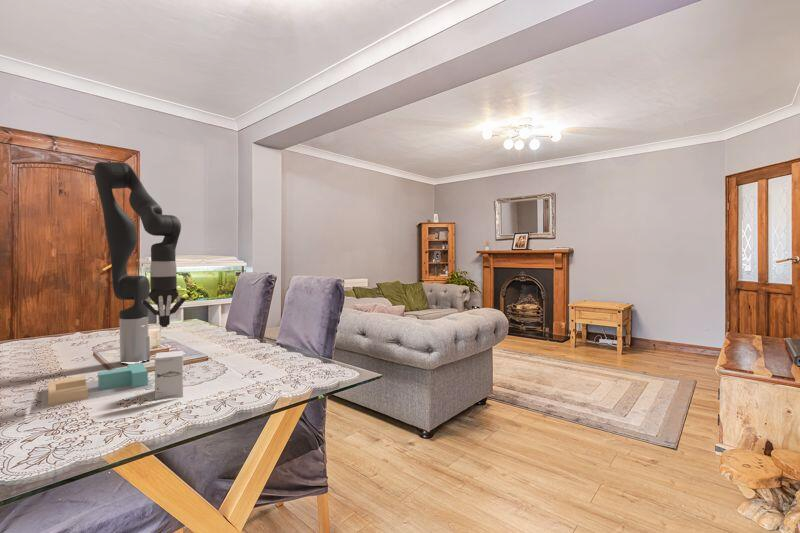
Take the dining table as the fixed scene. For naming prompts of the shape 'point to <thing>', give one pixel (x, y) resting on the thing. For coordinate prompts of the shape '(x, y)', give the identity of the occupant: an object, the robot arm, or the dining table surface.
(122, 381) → the tee block
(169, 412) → the dining table surface
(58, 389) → the slot board
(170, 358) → the supplement box
